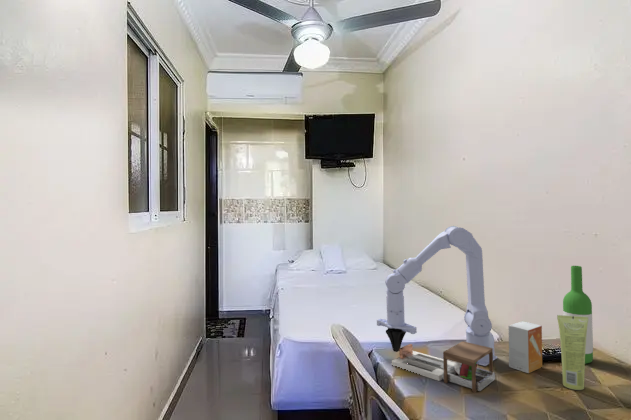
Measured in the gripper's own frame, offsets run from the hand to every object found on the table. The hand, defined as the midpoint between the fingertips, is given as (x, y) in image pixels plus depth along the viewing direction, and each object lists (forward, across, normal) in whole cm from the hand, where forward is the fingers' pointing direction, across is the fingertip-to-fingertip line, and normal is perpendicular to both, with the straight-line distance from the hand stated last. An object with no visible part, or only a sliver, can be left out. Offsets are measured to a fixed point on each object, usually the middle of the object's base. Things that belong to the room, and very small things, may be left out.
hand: (396, 350), depth 132 cm
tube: (+3, +47, +16) cm, 50 cm away
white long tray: (+2, +17, 0) cm, 17 cm away
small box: (+3, +33, +20) cm, 39 cm away
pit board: (+2, +10, 0) cm, 11 cm away
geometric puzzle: (+3, +25, 0) cm, 25 cm away
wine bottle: (+3, +43, +38) cm, 57 cm away
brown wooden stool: (+2, +25, 0) cm, 25 cm away
